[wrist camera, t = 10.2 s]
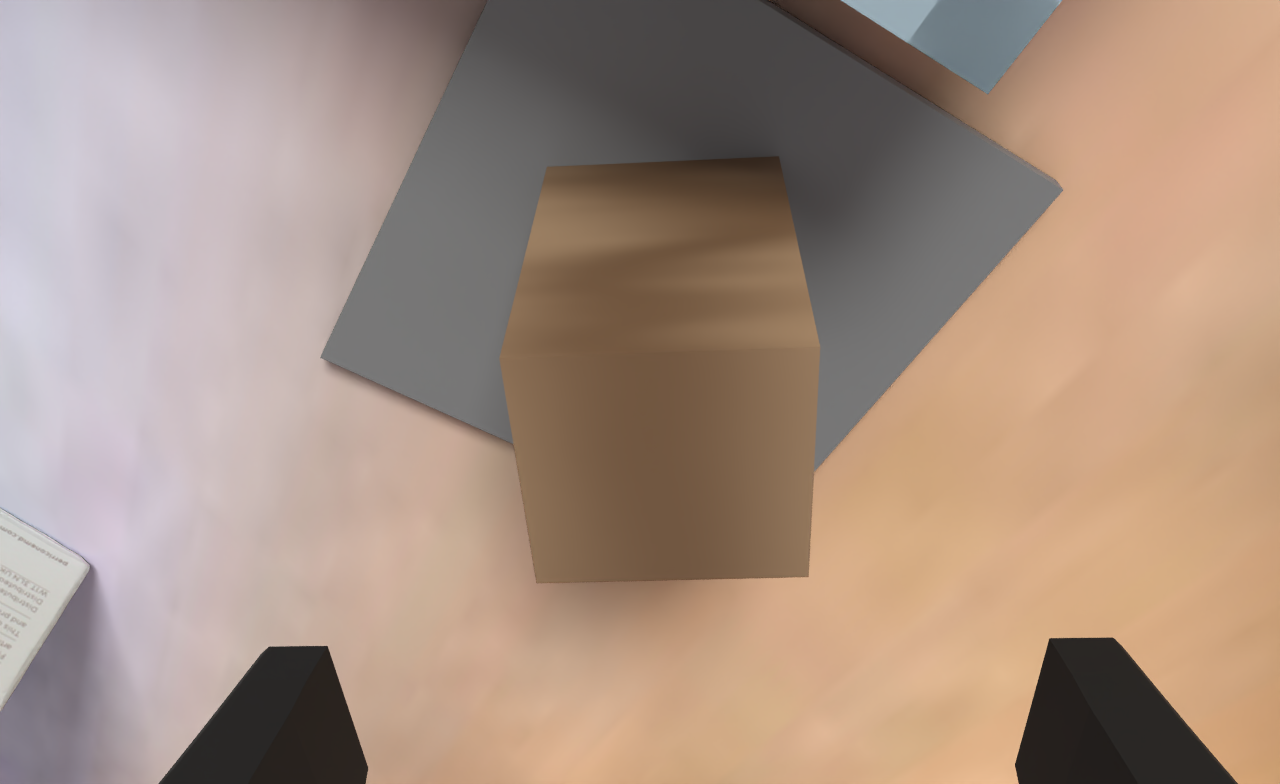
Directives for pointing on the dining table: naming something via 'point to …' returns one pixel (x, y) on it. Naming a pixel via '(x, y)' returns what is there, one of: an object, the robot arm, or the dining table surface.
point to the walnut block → (664, 375)
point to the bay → (963, 31)
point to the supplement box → (30, 594)
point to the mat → (679, 131)
